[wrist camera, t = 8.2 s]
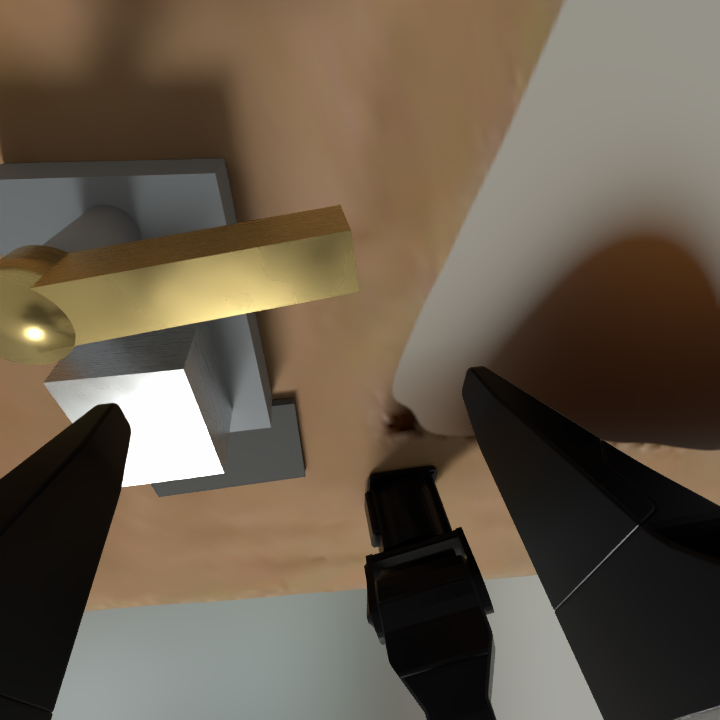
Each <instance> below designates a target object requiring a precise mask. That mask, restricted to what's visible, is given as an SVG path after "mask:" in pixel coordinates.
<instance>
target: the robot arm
mask: <svg viewBox="0 0 720 720" xmlns="http://www.w3.org/2000/svg"><path fill="white" fill-rule="evenodd" d="M462 396H463V400H464V403H465V406H466V409H467V412H468V415H469V418H470V421H471V424H472V427H473V430H474V433H475V436H476V439H477V442H478V445H479V447H480V449H481V452H482V454H483V456H484V458H485V461H486V463H487V465H488V467H489V469H490V472H491V474H492V476H493V478H494V480H495V482H496V485H497V487H498V489H499V491H500V493H501V496H502V498H503V500H504V502H505V504H506V506H507V509H508V511H509V513H510V515H511V517H512V520H513V522H514V524H515V526H516V528H517V530H518V533H519V535H520V537H521V539H522V541H523V544H524V546H525V548H526V550H527V552H528V554H529V557H530V559H531V561H532V563H533V565H534V568H535V570H536V572H537V574H538V576H539V578H540V581H541V583H542V585H543V587H544V589H545V592H546V594H547V596H548V598H549V600H550V603H551V605H552V607H553V609H554V610H556V611H555V614H556V616H557V618H558V620H559V623H560V625H561V627H562V629H563V631H564V633H565V636H566V638H567V640H568V642H569V644H570V647H571V649H572V651H573V653H574V655H575V658H576V660H577V662H578V664H579V666H580V668H581V671H582V673H583V675H584V677H585V679H586V682H587V684H588V686H589V688H590V690H591V693H592V695H593V697H594V699H595V701H596V703H597V706H598V708H599V710H600V712H601V714H602V716H603V719H604V720H720V506H719V505H717V504H715V503H713V502H711V501H709V500H708V499H706V498H704V497H702V496H700V495H698V494H696V493H695V492H693V491H691V490H689V489H687V488H685V487H683V486H682V485H680V484H678V483H676V482H674V481H672V480H670V479H669V478H667V477H665V476H663V475H661V474H660V473H658V472H656V471H654V470H652V469H651V468H649V467H647V466H645V465H643V464H642V463H640V462H638V461H636V460H635V459H633V458H631V457H630V456H628V455H626V454H625V453H623V452H621V451H620V450H618V449H616V448H615V447H613V446H612V445H610V444H608V443H607V442H605V441H603V440H602V441H601V440H600V438H598V437H597V436H595V435H594V434H592V433H590V432H589V431H587V430H586V429H584V428H582V427H581V426H579V425H578V424H576V423H574V422H573V421H571V420H569V419H568V418H566V417H565V416H563V415H561V414H560V413H558V412H556V411H555V410H553V409H552V408H550V407H548V406H547V405H545V404H544V403H542V402H540V401H539V400H537V399H535V398H534V397H532V396H531V395H529V394H527V393H526V392H524V391H523V390H521V389H519V388H518V387H516V386H515V385H513V384H511V383H510V382H508V381H506V380H505V379H503V378H502V377H500V376H498V375H497V374H495V373H494V372H492V371H490V370H489V369H487V368H485V367H483V366H479V367H471V368H469V369H468V370H467V373H466V377H465V381H464V385H463V388H462ZM130 438H131V427H130V424H129V422H128V420H127V419H126V417H125V415H124V413H123V412H122V410H121V408H120V406H119V405H118V404H116V403H107V404H99V405H96V406H94V407H93V408H92V409H90V410H89V411H88V412H86V413H85V414H84V415H83V416H81V417H80V418H79V419H77V420H76V421H75V422H74V423H72V424H71V425H70V426H68V427H67V428H66V429H65V430H63V431H62V432H61V433H59V434H58V435H57V436H56V437H54V438H53V439H52V440H50V441H49V442H48V443H46V444H45V445H44V446H43V447H41V448H40V449H39V450H37V451H36V452H35V453H34V454H32V455H31V456H30V457H28V458H27V459H26V460H25V461H23V462H22V463H21V464H19V465H18V466H17V467H16V468H14V469H13V470H12V471H10V472H9V473H8V474H6V475H5V476H4V477H3V478H1V479H0V720H51V718H52V713H51V712H53V710H54V707H55V704H56V701H57V697H58V694H59V691H60V687H61V684H62V681H63V678H64V675H65V671H66V668H67V665H68V662H69V658H70V655H71V652H72V649H73V645H74V642H75V639H76V636H77V632H78V629H79V626H80V622H81V619H82V616H83V613H84V610H85V606H86V603H87V600H88V597H89V593H90V590H91V587H92V584H93V580H94V577H95V574H96V571H97V567H98V564H99V561H100V558H101V554H102V551H103V548H104V545H105V541H106V538H107V535H108V532H109V528H110V525H111V522H112V519H113V515H114V512H115V509H116V506H117V502H118V499H119V495H120V492H121V487H122V483H123V477H124V472H125V466H126V461H127V455H128V449H129V444H130ZM436 474H437V470H436V467H434V466H429V467H422V468H415V469H408V470H401V471H394V472H387V473H380V474H373V475H371V476H370V477H369V491H367V492H366V493H365V512H366V517H367V523H368V528H369V533H370V539H371V544H372V546H373V547H374V548H375V547H379V552H380V553H378V554H374V555H372V554H370V555H367V556H366V563H367V564H366V565H365V566H364V568H365V574H366V580H367V620H368V623H369V624H371V625H372V626H373V627H374V628H375V631H376V633H377V636H378V638H379V640H380V642H381V643H382V645H384V644H386V649H387V654H388V659H389V662H390V664H391V666H392V668H393V669H394V671H395V672H396V673H397V675H398V676H399V678H400V679H401V680H402V682H403V683H404V684H405V686H406V687H407V689H408V690H409V691H410V693H411V694H412V695H413V697H414V698H415V700H416V701H417V702H418V704H419V705H420V707H421V708H422V710H423V711H424V712H425V715H426V718H427V720H496V717H495V714H494V711H493V708H492V705H491V695H492V683H493V672H494V659H495V645H494V640H493V634H492V630H491V627H490V625H489V622H488V619H487V617H486V614H491V613H494V610H493V606H492V603H491V600H490V597H489V594H488V591H487V589H486V586H485V583H484V581H483V578H482V575H481V573H480V570H479V568H478V566H477V563H476V561H475V558H474V556H473V554H472V551H471V549H470V547H469V544H468V542H467V539H466V537H465V535H464V532H463V530H462V527H459V528H456V530H453V531H452V529H451V526H450V523H449V520H448V518H447V515H446V512H445V509H444V507H443V504H442V501H441V499H440V496H439V493H438V490H437V488H436V485H435V478H436Z"/></svg>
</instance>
